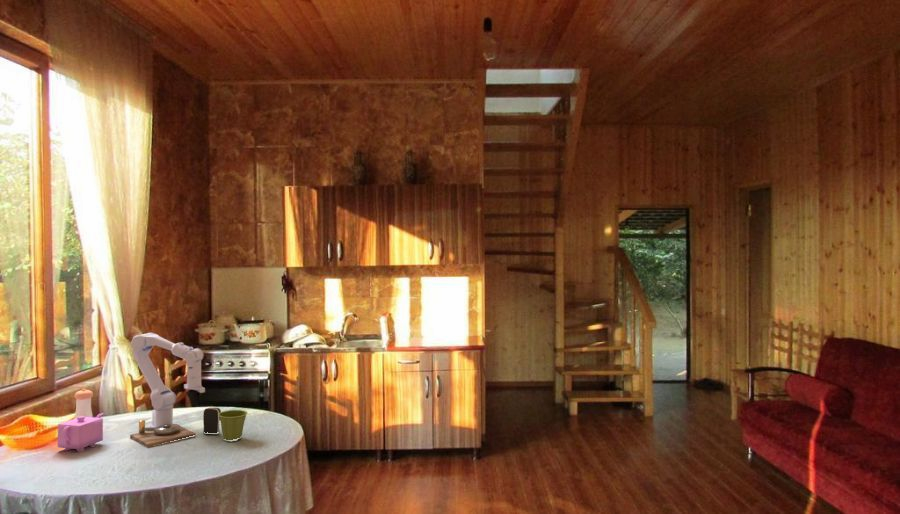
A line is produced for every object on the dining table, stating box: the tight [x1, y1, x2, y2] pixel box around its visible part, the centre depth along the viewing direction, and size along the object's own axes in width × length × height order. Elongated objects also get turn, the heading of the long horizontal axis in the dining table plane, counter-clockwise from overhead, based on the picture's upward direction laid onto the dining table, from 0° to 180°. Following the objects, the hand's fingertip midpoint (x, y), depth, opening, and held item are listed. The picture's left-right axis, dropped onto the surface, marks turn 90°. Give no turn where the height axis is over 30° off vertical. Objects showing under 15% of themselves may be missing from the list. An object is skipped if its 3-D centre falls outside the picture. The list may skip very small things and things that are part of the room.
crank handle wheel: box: [138, 419, 180, 435], centre depth 256 cm, size 16×10×5 cm, turn 102°
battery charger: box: [202, 407, 222, 433], centre depth 260 cm, size 7×4×11 cm, turn 81°
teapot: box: [57, 412, 104, 453], centre depth 241 cm, size 20×10×12 cm, turn 168°
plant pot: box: [218, 409, 248, 440], centre depth 252 cm, size 12×12×11 cm
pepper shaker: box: [73, 388, 94, 419], centre depth 260 cm, size 7×7×19 cm
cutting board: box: [129, 426, 197, 448], centre depth 254 cm, size 18×20×2 cm
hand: (194, 406), depth 266 cm, fingers closed
